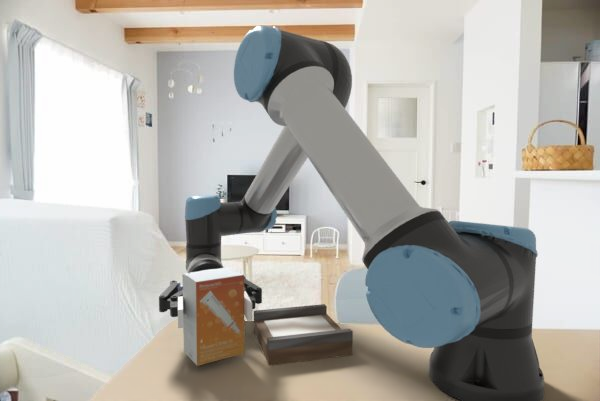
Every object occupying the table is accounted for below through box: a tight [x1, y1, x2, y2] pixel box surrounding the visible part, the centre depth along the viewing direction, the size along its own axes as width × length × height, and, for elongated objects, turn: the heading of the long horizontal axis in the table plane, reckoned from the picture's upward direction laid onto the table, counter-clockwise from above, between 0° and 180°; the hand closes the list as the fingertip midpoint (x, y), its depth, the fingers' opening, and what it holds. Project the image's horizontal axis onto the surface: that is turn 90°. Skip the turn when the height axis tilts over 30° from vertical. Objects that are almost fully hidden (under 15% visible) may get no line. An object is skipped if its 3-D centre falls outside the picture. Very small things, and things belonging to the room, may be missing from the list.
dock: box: [253, 303, 354, 366], centre depth 74 cm, size 14×14×4 cm
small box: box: [182, 266, 245, 367], centre depth 67 cm, size 8×6×13 cm
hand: (216, 315), depth 62 cm, fingers closed on small box, 9 cm apart
